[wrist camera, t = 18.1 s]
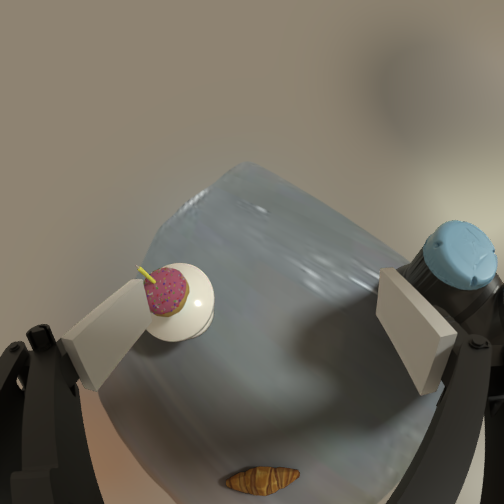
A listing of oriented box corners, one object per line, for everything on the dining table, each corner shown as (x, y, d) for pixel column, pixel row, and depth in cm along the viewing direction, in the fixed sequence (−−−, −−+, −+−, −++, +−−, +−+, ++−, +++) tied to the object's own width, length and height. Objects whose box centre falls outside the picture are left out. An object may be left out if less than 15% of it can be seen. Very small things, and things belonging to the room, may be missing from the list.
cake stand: (201, 266, 59) (189, 249, 52) (238, 321, 52) (229, 310, 45) (146, 303, 56) (127, 290, 49) (176, 362, 49) (158, 356, 42)
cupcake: (145, 305, 47) (110, 279, 37) (172, 270, 50) (144, 237, 40) (177, 332, 44) (144, 312, 34) (206, 293, 47) (182, 263, 36)
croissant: (231, 495, 34) (225, 504, 30) (224, 467, 38) (217, 474, 33) (302, 485, 34) (304, 494, 30) (296, 456, 38) (297, 463, 33)
